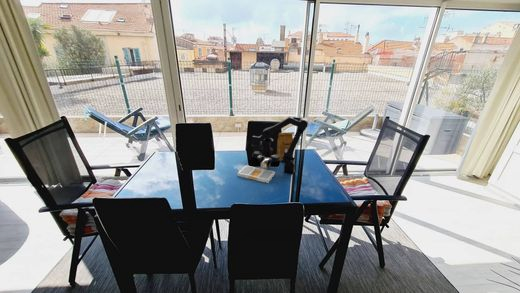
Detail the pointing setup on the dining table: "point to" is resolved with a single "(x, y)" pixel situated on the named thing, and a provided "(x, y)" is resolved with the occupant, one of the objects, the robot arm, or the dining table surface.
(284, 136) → the coffee package
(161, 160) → the dining table surface
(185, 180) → the dining table surface
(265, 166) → the grey block
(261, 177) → the rack
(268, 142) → the robot arm
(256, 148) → the magazine
